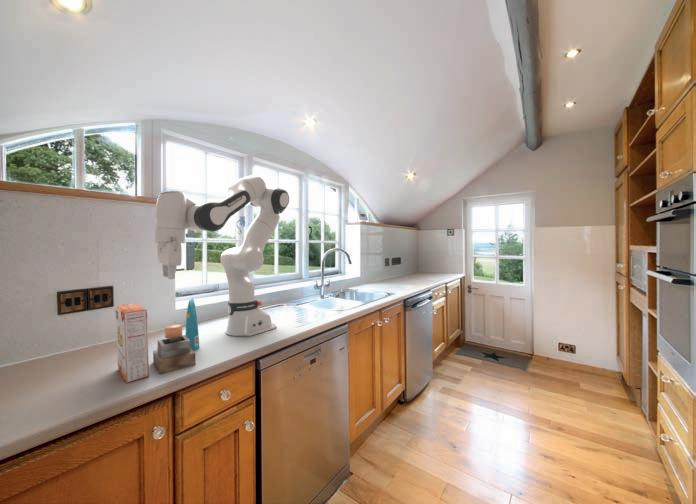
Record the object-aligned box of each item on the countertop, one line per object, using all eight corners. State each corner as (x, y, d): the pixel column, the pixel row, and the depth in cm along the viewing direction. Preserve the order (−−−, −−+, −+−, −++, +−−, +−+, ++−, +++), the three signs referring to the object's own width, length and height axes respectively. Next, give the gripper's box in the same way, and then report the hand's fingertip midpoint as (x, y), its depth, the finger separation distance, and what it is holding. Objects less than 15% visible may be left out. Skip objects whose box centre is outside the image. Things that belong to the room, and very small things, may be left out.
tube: (186, 346, 109) (185, 298, 109) (200, 344, 111) (199, 297, 111) (183, 353, 102) (182, 301, 102) (198, 351, 104) (197, 300, 104)
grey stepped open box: (186, 354, 101) (186, 332, 101) (195, 364, 92) (195, 340, 92) (153, 362, 94) (152, 339, 94) (159, 374, 85) (159, 348, 85)
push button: (180, 338, 97) (180, 323, 96) (184, 341, 93) (183, 326, 93) (163, 341, 93) (163, 326, 93) (166, 345, 89) (166, 330, 89)
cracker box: (116, 369, 89) (114, 305, 88) (139, 363, 93) (138, 302, 93) (124, 384, 79) (122, 312, 79) (149, 377, 84) (148, 308, 83)
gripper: (187, 237, 89) (186, 280, 89) (175, 238, 104) (173, 275, 104) (164, 236, 85) (162, 280, 85) (154, 237, 100) (153, 275, 100)
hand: (168, 277), depth 95 cm, fingers open, 8 cm apart
